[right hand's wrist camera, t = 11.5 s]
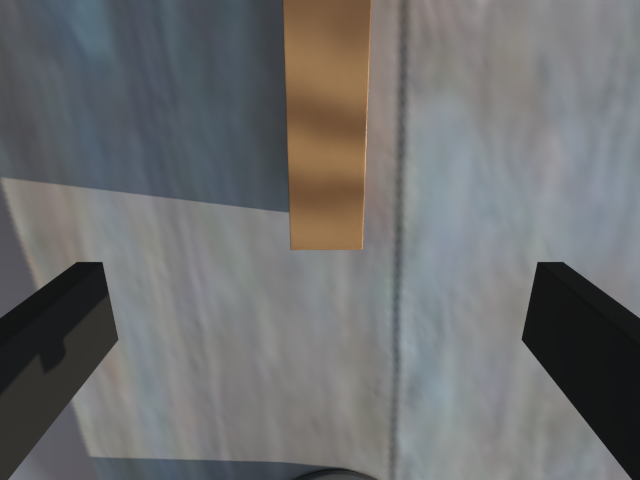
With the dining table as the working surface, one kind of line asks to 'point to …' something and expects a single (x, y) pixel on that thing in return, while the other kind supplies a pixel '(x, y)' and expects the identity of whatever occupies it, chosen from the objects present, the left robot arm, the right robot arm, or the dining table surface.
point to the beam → (326, 120)
